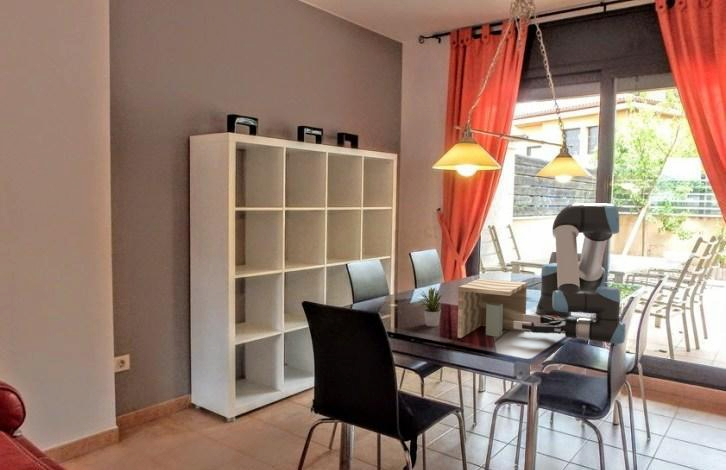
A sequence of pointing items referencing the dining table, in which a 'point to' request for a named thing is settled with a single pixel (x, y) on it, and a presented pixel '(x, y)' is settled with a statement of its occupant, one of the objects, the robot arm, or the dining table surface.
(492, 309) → the tall block
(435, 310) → the house plant
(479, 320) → the cubby box
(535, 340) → the dining table surface
